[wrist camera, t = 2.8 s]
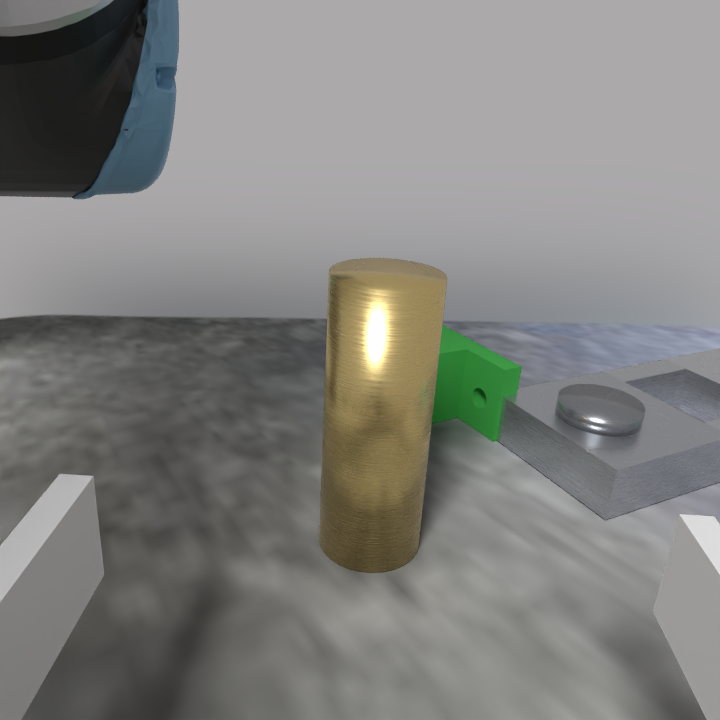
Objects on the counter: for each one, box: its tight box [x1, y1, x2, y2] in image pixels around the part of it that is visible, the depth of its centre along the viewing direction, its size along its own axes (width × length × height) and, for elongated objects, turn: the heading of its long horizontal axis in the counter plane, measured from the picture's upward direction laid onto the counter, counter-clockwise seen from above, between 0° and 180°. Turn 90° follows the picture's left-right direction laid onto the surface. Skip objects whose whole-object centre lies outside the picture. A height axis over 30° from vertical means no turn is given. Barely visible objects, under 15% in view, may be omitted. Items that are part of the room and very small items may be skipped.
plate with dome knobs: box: [497, 348, 720, 520], centre depth 37 cm, size 8×20×3 cm, turn 118°
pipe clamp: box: [432, 325, 521, 442], centre depth 39 cm, size 11×4×5 cm, turn 31°
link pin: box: [319, 258, 447, 573], centre depth 26 cm, size 4×4×11 cm
